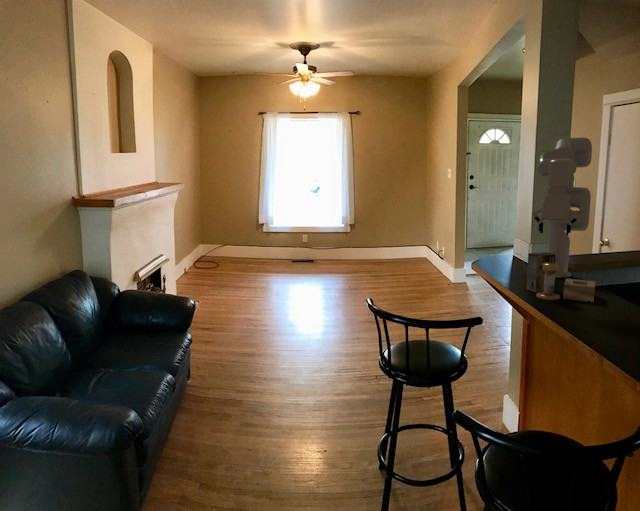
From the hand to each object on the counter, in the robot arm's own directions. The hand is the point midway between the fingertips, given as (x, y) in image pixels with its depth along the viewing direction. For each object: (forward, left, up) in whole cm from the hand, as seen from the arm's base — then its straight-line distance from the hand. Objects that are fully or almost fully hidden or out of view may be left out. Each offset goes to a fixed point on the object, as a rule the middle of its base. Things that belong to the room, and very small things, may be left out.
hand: (554, 233), depth 206 cm
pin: (+1, 0, -25) cm, 25 cm away
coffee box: (-10, -5, -27) cm, 29 cm away
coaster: (+1, 0, -26) cm, 26 cm away
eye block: (-5, +11, -26) cm, 29 cm away
